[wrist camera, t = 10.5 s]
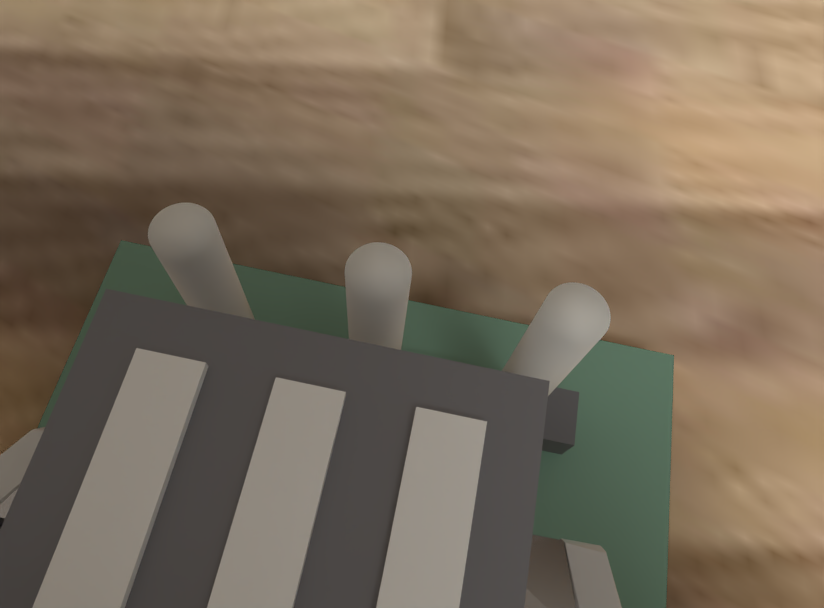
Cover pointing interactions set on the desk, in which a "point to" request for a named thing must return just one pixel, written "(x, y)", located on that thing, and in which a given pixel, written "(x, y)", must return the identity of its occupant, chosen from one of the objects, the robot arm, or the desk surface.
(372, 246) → the header board
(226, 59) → the desk surface
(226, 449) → the plug
